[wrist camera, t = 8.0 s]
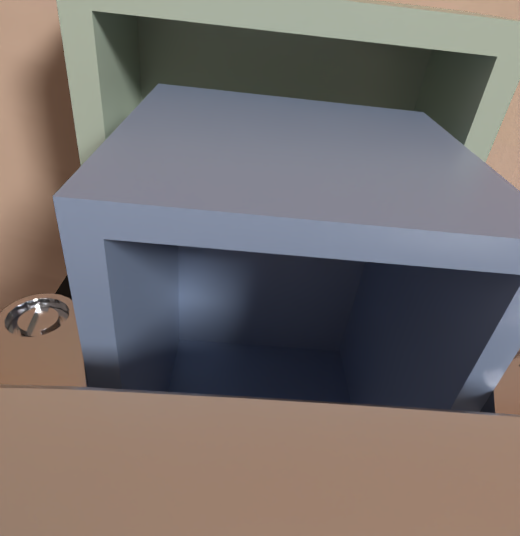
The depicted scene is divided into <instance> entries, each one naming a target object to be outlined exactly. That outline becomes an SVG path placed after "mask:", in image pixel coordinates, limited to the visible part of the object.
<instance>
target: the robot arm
mask: <svg viewBox="0 0 520 536" xmlns="http://www.w3.org/2000/svg"><path fill="white" fill-rule="evenodd" d="M0 536H520V349H519V351H518V352H517V354H516V355H515V357H514V358H513V360H512V362H511V363H510V365H509V366H508V368H507V370H506V371H505V373H504V374H503V376H502V378H501V379H500V381H499V382H498V384H497V385H496V387H495V389H494V390H493V392H492V393H491V395H490V397H489V398H488V400H487V401H486V403H485V405H484V406H483V408H482V409H481V411H480V412H474V411H460V410H445V409H431V408H417V407H403V406H388V405H373V404H358V403H343V402H327V401H312V400H296V399H280V398H265V397H249V396H232V395H215V394H198V393H181V392H164V391H147V390H130V389H113V388H95V387H89V386H88V380H87V375H86V370H85V365H84V359H83V354H82V349H81V344H80V338H79V333H78V328H77V323H76V317H75V312H74V307H73V301H72V296H71V291H70V286H69V280H68V275H67V276H66V278H65V279H64V281H63V282H62V284H61V285H60V287H59V289H58V290H57V292H56V293H55V294H51V293H47V294H36V295H32V296H27V297H24V298H22V299H19V300H17V301H15V302H13V303H12V304H10V305H9V306H7V307H6V308H4V309H3V311H2V312H1V313H0Z"/></svg>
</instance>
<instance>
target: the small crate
mask: <svg viewBox="0 0 520 536" xmlns="http://www.w3.org/2000/svg"><path fill="white" fill-rule="evenodd" d="M53 202H54V207H55V212H56V217H57V223H58V228H59V233H60V238H61V244H62V249H63V254H64V259H65V265H66V270H67V275H68V280H69V286H70V291H71V296H72V301H73V307H74V312H75V317H76V323H77V328H78V333H79V338H80V344H81V349H82V354H83V359H84V365H85V370H86V375H87V380H88V386H89V387H95V388H113V389H130V390H147V391H164V392H181V393H198V394H215V395H232V396H249V397H265V398H280V399H296V400H312V401H327V402H343V403H358V404H373V405H388V406H403V407H417V408H431V409H445V410H460V411H474V412H480V411H481V409H482V408H483V406H484V405H485V403H486V401H487V400H488V398H489V397H490V395H491V393H492V392H493V390H494V389H495V387H496V385H497V384H498V382H499V381H500V379H501V378H502V376H503V374H504V373H505V371H506V370H507V368H508V366H509V365H510V363H511V362H512V360H513V358H514V357H515V355H516V354H517V352H518V351H519V349H520V191H519V190H518V189H516V188H515V187H514V186H513V185H512V184H510V183H509V182H508V181H507V180H506V179H504V178H503V177H502V176H501V175H499V174H498V173H497V172H496V171H495V170H493V169H492V168H491V167H490V166H488V165H487V164H486V163H485V162H484V161H482V160H481V159H480V158H479V157H478V156H476V155H475V154H474V153H473V152H471V151H470V150H469V149H468V148H467V147H465V146H464V145H463V144H462V143H460V142H459V141H458V140H457V139H456V138H454V137H453V136H452V135H451V134H450V133H448V132H447V131H446V130H445V129H443V128H442V127H441V126H440V125H439V124H437V123H436V122H435V121H434V120H432V119H431V118H430V117H429V116H428V115H426V114H425V113H424V112H417V111H408V110H399V109H390V108H380V107H371V106H362V105H353V104H343V103H334V102H325V101H316V100H306V99H297V98H288V97H279V96H269V95H260V94H251V93H242V92H233V91H223V90H214V89H205V88H196V87H186V86H177V85H168V84H159V83H158V85H157V86H156V87H155V88H154V89H153V90H152V91H151V92H150V93H149V94H148V95H147V96H146V97H145V98H144V99H143V101H142V102H141V103H140V104H139V105H138V106H137V107H136V108H135V109H134V110H133V111H132V112H131V113H130V114H129V115H128V116H127V118H126V119H125V120H124V121H123V122H122V123H121V124H120V125H119V126H118V127H117V128H116V129H115V130H114V131H113V132H112V134H111V135H110V136H109V137H108V138H107V139H106V140H105V141H104V142H103V143H102V144H101V145H100V146H99V147H98V148H97V150H96V151H95V152H94V153H93V154H92V155H91V156H90V157H89V158H88V159H87V160H86V161H85V162H84V163H83V164H82V166H81V167H80V168H79V169H78V170H77V171H76V172H75V173H74V174H73V175H72V176H71V177H70V178H69V179H68V180H67V181H66V183H65V184H64V185H63V186H62V187H61V188H60V189H59V190H58V191H57V192H56V193H55V194H54V195H53Z"/></svg>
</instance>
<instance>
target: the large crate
mask: <svg viewBox="0 0 520 536" xmlns="http://www.w3.org/2000/svg"><path fill="white" fill-rule="evenodd" d="M56 1H57V8H58V15H59V21H60V28H61V35H62V42H63V49H64V56H65V63H66V69H67V76H68V83H69V90H70V97H71V104H72V110H73V117H74V124H75V131H76V138H77V145H78V151H79V158H80V165H81V166H82V164H83V163H84V162H85V161H86V160H87V159H88V158H89V157H90V156H91V155H92V154H93V153H94V152H95V151H96V150H97V148H98V147H99V146H100V145H101V144H102V143H103V142H104V141H105V140H106V139H107V138H108V137H109V136H110V135H111V134H112V132H113V131H114V130H115V129H116V128H117V127H118V126H119V125H120V124H121V123H122V122H123V121H124V120H125V119H126V118H127V116H128V115H129V114H130V113H131V112H132V111H133V110H134V109H135V108H136V107H137V106H138V105H139V104H140V103H141V102H142V101H143V99H144V98H145V97H146V96H147V95H148V94H149V93H150V92H151V91H152V90H153V89H154V88H155V87H156V86H157V85H158V83H159V84H168V85H177V86H186V87H196V88H205V89H214V90H223V91H233V92H242V93H251V94H260V95H269V96H279V97H288V98H297V99H306V100H316V101H325V102H334V103H343V104H353V105H362V106H371V107H380V108H390V109H399V110H408V111H417V112H424V113H425V114H426V115H428V116H429V117H430V118H431V119H432V120H434V121H435V122H436V123H437V124H439V125H440V126H441V127H442V128H443V129H445V130H446V131H447V132H448V133H450V134H451V135H452V136H453V137H454V138H456V139H457V140H458V141H459V142H460V143H462V144H463V145H464V146H465V147H467V148H468V149H469V150H470V151H471V152H473V153H474V154H475V155H476V156H478V157H479V158H480V159H481V160H482V161H484V162H486V160H487V157H488V155H489V152H490V150H491V148H492V145H493V143H494V140H495V138H496V136H497V133H498V131H499V128H500V126H501V123H502V121H503V119H504V116H505V114H506V111H507V109H508V107H509V104H510V102H511V99H512V97H513V95H514V92H515V90H516V87H517V85H518V83H519V80H520V20H515V19H509V18H503V17H497V16H491V15H485V14H479V13H473V12H467V11H459V10H451V9H443V8H434V7H426V6H418V5H409V4H401V3H393V2H384V1H376V0H56Z"/></svg>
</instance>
